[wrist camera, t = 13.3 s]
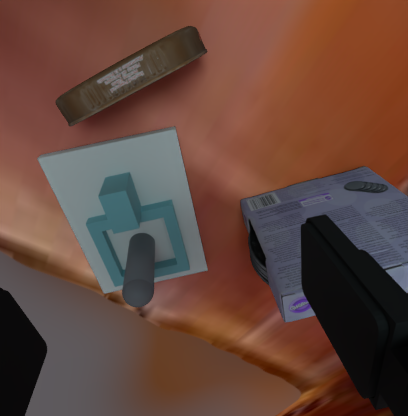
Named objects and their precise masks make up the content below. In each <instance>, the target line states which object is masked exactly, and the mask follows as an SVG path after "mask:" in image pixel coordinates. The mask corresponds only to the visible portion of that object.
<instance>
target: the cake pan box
mask: <svg viewBox="0 0 408 416" xmlns="http://www.w3.org/2000/svg"><path fill="white" fill-rule="evenodd" d="M241 209H242V213H243V218H244V222H245V226H246V228H247V230H248V233H249V237H248V244H249V249H250V258H251V262H252V265H253V267H254V269H255V271H256V272H257V274H258V275H259V276H260V277H261V279H262V280H263V281H264V282H266V283H267V284H268V285H269V286H270V288H271V290H272V292H273V295H274V297H275V300H276V303H277V305H278V308H279V310H280V313H281V315H282V317H283V320H284V322H291V321H295V320H299V319H303V318H307V317H311V316H315V313H314V311H313V310H312V308H311V306H310V304H309V302H308V301H307V299H306V297H305V295H304V293H303V290H302V285H301V224H304V223H306V219H307V218H310V217H314V216H319V215H323V214H325V215H327V216H328V217H329V218H330V219H331V220H332V221H333V222H334V223H335V224H336V225H337V226H338V228H339V229H340V230H341V231H342V232H343V233H344V234H345V235H346V236H347V237H348V238H349V239H350V240H351V242H352V243H353V244H354V245H355V246H356V247H357V248H358V249H359V250H361V249H362V250H365V251H366V252H368V253H369V254H370V255H371V256H372V257H373V258H374V259H375V260H376V261H377V262H378V263H379V265H380V266H381V267H382V268H383V269H384V270H385V271H386V272H387V273H388V274H389V275H390V276H391V277H392V278H393V279H394V280H395V281H396V282H397V283H398V284H399V285H400V286H401V287H402V289H403V290H404V291H405V292H406V293H408V197H407V196H406V195H405V194H403V193H402V192H401V191H399V190H398V189H396V188H395V187H394V186H392V185H391V184H390V183H388V182H387V181H385V180H384V179H383V178H382V177H380V176H379V175H377V174H376V173H375V172H373V171H372V170H371V169H369V168H368V167H366V166H364V167H360V168H357V169H355V170H351V171H348V172H344V173H340V174H336V175H332V176H328V177H324V178H321V179H318V178H316V179H312V180H309V181H305V182H301V183H298V184H294V185H290V186H288V187H287V188H283V189H279V190H275V191H271V192H268V193H264V194H261V195H257V196H254V197H250V198H245V199H242V200H241Z"/></svg>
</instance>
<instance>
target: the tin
mask: <svg viewBox="0 0 408 416" xmlns="http://www.w3.org/2000/svg"><path fill="white" fill-rule="evenodd" d="M205 53H207V49H205V47H204V44H203V42H202V40H201V37H200V35H199V32H198V30H197V29H196V28H195V27H193V26H188V27H185V28H182V29H180V30H178V31H175V32H174V33H172V34H170V35H168V36H166V37H164V38H162V39H160V40H158V41H156V42H154V43H152V44H151V45H149V46H147V47H145V48H143V49H141V50H140V51H138V52H136V53H134V54H132V55H130V56H129V57H127V58H125V59H123V60H121V61H119V62H117V63H116V64H114V65H112V66H110V67H109V68H107V69H105V70H103V71H102V72H100V73H98V74H96V75H95V76H93V77H91V78H89V79H88V80H86V81H84V82H82V83H81V84H79V85H77V86H76V87H74V88H72V89H71V90H69V91H67V92H66V93H64V94H63V95H61V96H60V97H59V98H57V100H56V105H57V107H58V109H59V110H60V111H61V113H62V114H63V116H64V117H65V119H66V120H67V122H68V125H69V126H73V125H75V124H77V123H78V122H81V121H83V120H85V119H86V118H88V117H90V116H92V115H94V114H96V113H98V112H100V111H101V110H103V109H105V108H107V107H109V106H111V105H113V104H114V103H116V102H118V101H120V100H122V99H124V98H126V97H127V96H129V95H131V94H133V93H135V92H137V91H139V90H140V89H142V88H144V87H146V86H148V85H150V84H152V83H153V82H155V81H157V80H159V79H161V78H163V77H165V76H166V75H168V74H170V73H172V72H174V71H176V70H178V69H179V68H181V67H183V66H185V65H187V64H188V63H190V62H192V61H194V60H195V59H197V58H199V57H200V56H202V55H204V54H205Z"/></svg>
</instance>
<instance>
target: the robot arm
mask: <svg viewBox="0 0 408 416" xmlns="http://www.w3.org/2000/svg"><path fill="white" fill-rule="evenodd" d="M301 285H302V290H303V293H304V295H305V297H306V299H307V301H308V302H309V304H310V306H311V308H312V310H313V311H314V313H315V315H316V317H317V319H318V320H319V322H320V324H321V326H322V328H323V329H324V331H325V333H326V335H327V336H328V338H329V340H330V342H331V344H332V345H333V347H334V349H335V351H336V353H337V354H338V356H339V358H340V360H341V362H342V363H343V365H344V367H345V369H346V371H347V372H348V374H349V376H350V378H351V380H352V381H353V383H354V385H355V387H356V389H357V390H358V392H359V394H360V395H361V396H362V397H363V398H364V399H366V398H369V399H370V401H371V403H372V405H373V406H374V408H375V410H377V409H382V408H386V407H389V408H390V410H391V411H392V413H393V414H394V416H408V294H407V293H406V292H405V291H404V290H403V289H402V287H401V286H400V285H399V284H398V283H397V282H396V281H395V280H394V279H393V278H392V277H391V276H390V275H389V274H388V273H387V272H386V271H385V270H384V269H383V268H382V267H381V266H380V265H379V263H378V262H377V261H376V260H375V259H374V258H373V257H372V256H371V255H370V254H369V253H368V252H366V251H365V250H362V249H361V250H359V249H358V248H357V247H356V246H355V245H354V244H353V243H352V242H351V240H350V239H349V238H348V237H347V236H346V235H345V234H344V233H343V232H342V231H341V230H340V229H339V228H338V226H337V225H336V224H335V223H334V222H333V221H332V220H331V219H330V218H329V217H328V216H327V215H325V214H323V215H319V216H314V217H310V218H307V219H306V223H304V224H301ZM46 353H47V346H46V343H45V341H44V340H43V338H42V337H41V336H40V334H39V333H38V331H37V330H36V329H35V327H34V326H33V325H32V323H31V322H30V320H29V319H28V318H27V316H26V315H25V314H24V312H23V311H22V309H21V308H20V306H19V305H18V304H17V302H16V301H15V300H14V298H13V297H12V295H11V294H10V293H9V292H8V291H6V290H3V289H2V288H0V416H25V413H26V410H27V408H28V405H29V402H30V399H31V396H32V394H33V390H34V388H35V385H36V382H37V379H38V377H39V374H40V371H41V368H42V365H43V363H44V359H45V357H46Z"/></svg>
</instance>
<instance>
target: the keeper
mask: <svg viewBox="0 0 408 416" xmlns="http://www.w3.org/2000/svg"><path fill="white" fill-rule="evenodd" d="M37 159H38V161H39V163H40V165H41V167H42V169H43V171H44V173H45V175H46V177H47V179H48V181H49V183H50V185H51V187H52V189H53V191H54V193H55V195H56V197H57V199H58V201H59V204H60V206H61V208H62V210H63V212H64V214H65V216H66V218H67V220H68V222H69V224H70V226H71V228H72V230H73V232H74V234H75V236H76V238H77V240H78V242H79V244H80V246H81V248H82V250H83V252H84V254H85V256H86V258H87V260H88V262H89V264H90V266H91V268H92V270H93V272H94V274H95V276H96V278H97V280H98V282H99V284H100V286H101V288H102V290H103V292H104V294H105V293H109V292H114V291H118V290H122V295H123V298H124V300H125V302H126V303H127V304H129V305H130V306H133V307H142V306H144V305H146V304H148V303H149V302H150V300H151V299H152V297H153V294H154V282H158V281H163V280H167V279H172V278H176V277H180V276H185V275H189V274H194V273H198V272H203V271H207V270H208V269H207V264H206V260H205V256H204V251H203V247H202V243H201V238H200V234H199V229H198V225H197V221H196V216H195V212H194V207H193V203H192V199H191V194H190V190H189V186H188V181H187V177H186V172H185V168H184V164H183V159H182V155H181V150H180V146H179V142H178V137H177V133H176V128H175V126H174V127H169V128H164V129H160V130H155V131H150V132H146V133H141V134H136V135H132V136H127V137H122V138H118V139H113V140H108V141H104V142H99V143H94V144H89V145H85V146H80V147H75V148H71V149H66V150H61V151H57V152H52V153H47V154H43V155H40V156H39V157H38V158H37ZM127 172H130V174H131V177H132V180H133V183H134V186H135V189H136V192H137V195H138V198H139V200H140V203H141V206H144V205H149V204H153V203H158V202H162V201H167V200H171V199H172V202H173V206H174V209H175V213H176V217H177V220H178V224H179V228H180V231H181V235H182V239H183V242H184V246H185V250H186V253H187V257H188V261H189V265H190V270H187V271H183V272H178V273H174V274H169V275H165V276H161V277H156V278H154V270H155V262H160V261H164V260H168V259H173V258H175V254H174V251H173V248H172V244H171V241H170V238H169V234H168V231H167V228H166V225H165V221H164V218H159V219H155V220H150V221H146V222H142V223H140V227H139V228H138V229H134V230H130V231H125V232H121V233H116V234H114V233H113V231H112V229H110V230H106V232H107V234H108V236H109V239H110V241H111V243H112V246H113V248H114V250H115V252H116V255H117V257H118V259H119V262H120V264H121V266H122V269H123V270H124V269H125V275H124V282H123V285H121V286H117V287H115V286H114V284H113V282H112V280H111V277H110V275H109V273H108V271H107V269H106V267H105V265H104V263H103V260H102V258H101V256H100V254H99V252H98V250H97V248H96V246H95V243H94V241H93V239H92V237H91V235H90V233H89V231H88V228H87V226H86V222H87V220H88V218H91V217H95V216H100V215H104V214H105V212H104V210H103V207H102V205H101V202H100V200H99V198H98V195H99V193H100V190H101V187H102V185H103V182H104V180H105V177H109V176H114V175H118V174H123V173H127Z"/></svg>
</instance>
